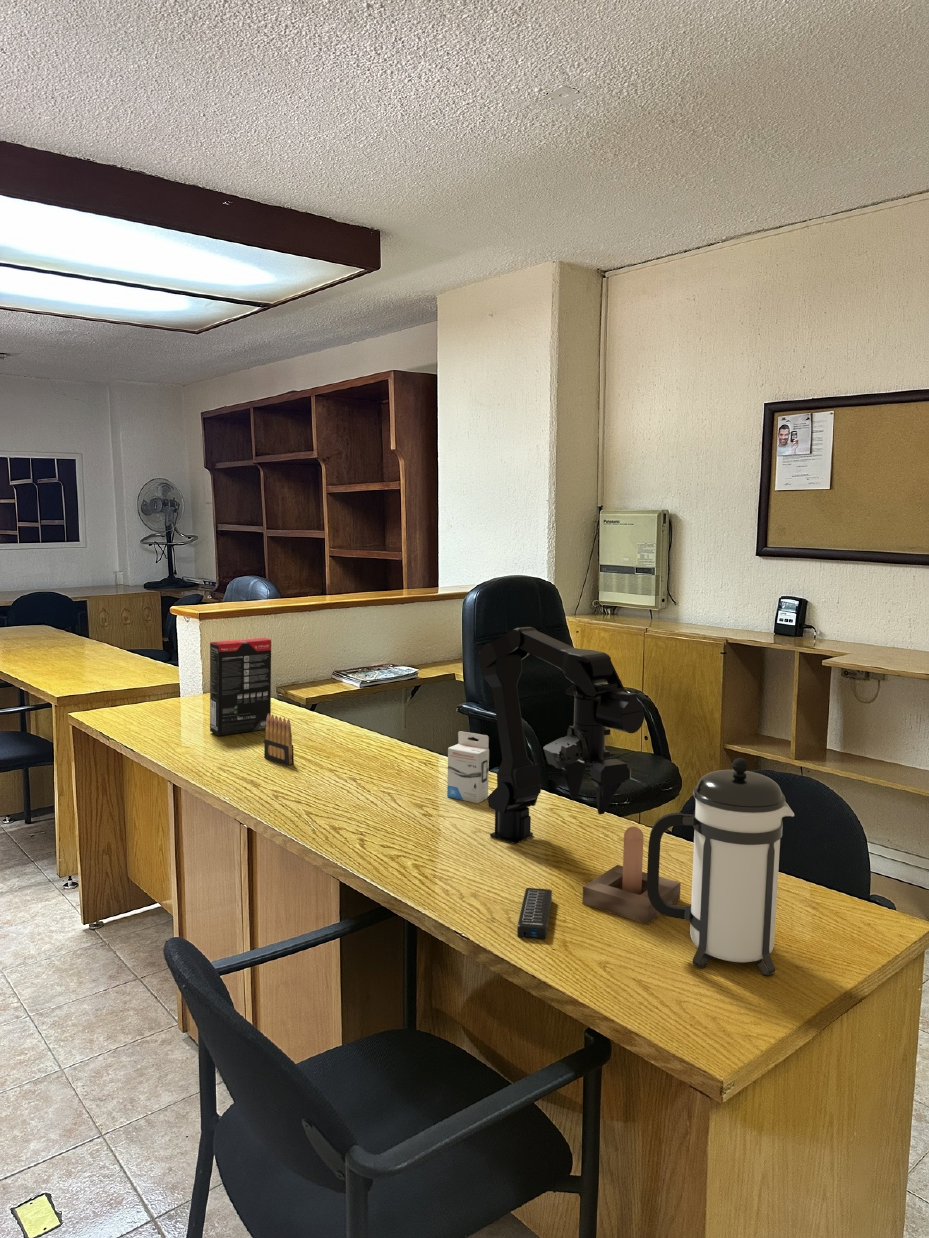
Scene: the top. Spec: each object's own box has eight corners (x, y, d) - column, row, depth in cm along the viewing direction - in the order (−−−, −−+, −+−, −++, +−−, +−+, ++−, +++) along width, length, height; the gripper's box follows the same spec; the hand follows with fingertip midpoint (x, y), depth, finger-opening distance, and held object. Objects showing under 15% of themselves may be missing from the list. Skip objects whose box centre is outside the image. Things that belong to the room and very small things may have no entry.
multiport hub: (551, 902, 150) (552, 889, 150) (545, 942, 136) (545, 928, 136) (525, 900, 151) (526, 887, 151) (516, 940, 137) (517, 925, 136)
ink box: (446, 797, 204) (446, 734, 202) (456, 791, 208) (457, 730, 206) (478, 803, 200) (479, 739, 198) (489, 797, 204) (490, 735, 202)
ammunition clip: (264, 757, 235) (263, 713, 233) (269, 756, 236) (269, 712, 235) (288, 766, 227) (287, 720, 226) (294, 764, 229) (293, 718, 227)
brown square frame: (582, 903, 149) (582, 886, 149) (616, 880, 158) (617, 864, 158) (648, 924, 142) (648, 906, 141) (679, 899, 151) (680, 882, 151)
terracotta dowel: (618, 901, 150) (620, 827, 148) (627, 895, 152) (629, 822, 151) (635, 907, 148) (638, 831, 146) (644, 900, 150) (647, 826, 149)
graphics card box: (262, 724, 271) (261, 636, 268) (273, 729, 266) (272, 638, 262) (209, 733, 260) (207, 640, 257) (219, 737, 255) (217, 643, 251)
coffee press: (725, 920, 143) (734, 739, 140) (806, 965, 129) (818, 764, 126) (641, 944, 135) (648, 751, 131) (717, 994, 121) (727, 780, 118)
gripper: (525, 714, 165) (524, 796, 167) (578, 738, 148) (576, 828, 150) (577, 710, 170) (575, 789, 172) (634, 732, 153) (631, 820, 155)
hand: (587, 806), depth 162 cm, fingers open, 9 cm apart
